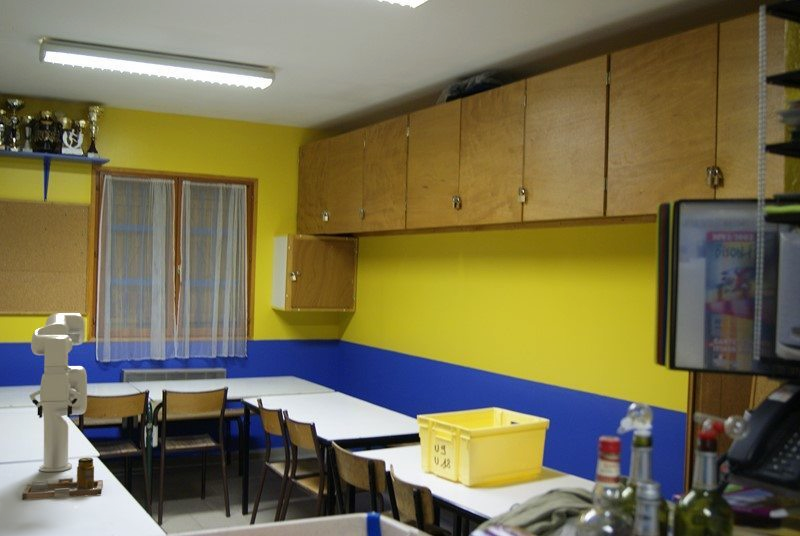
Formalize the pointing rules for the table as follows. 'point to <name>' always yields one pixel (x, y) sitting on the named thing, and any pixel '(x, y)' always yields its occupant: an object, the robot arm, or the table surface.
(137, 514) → the table surface
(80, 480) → the condiment
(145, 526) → the table surface
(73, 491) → the frame
